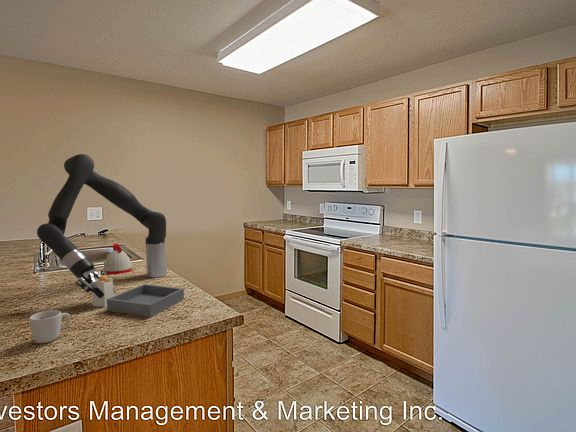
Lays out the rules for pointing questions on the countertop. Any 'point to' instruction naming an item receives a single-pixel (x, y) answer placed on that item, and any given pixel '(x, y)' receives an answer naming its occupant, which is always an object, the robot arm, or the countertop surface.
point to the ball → (103, 278)
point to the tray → (145, 300)
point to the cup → (47, 325)
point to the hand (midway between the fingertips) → (107, 294)
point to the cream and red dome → (117, 262)
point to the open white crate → (106, 289)
